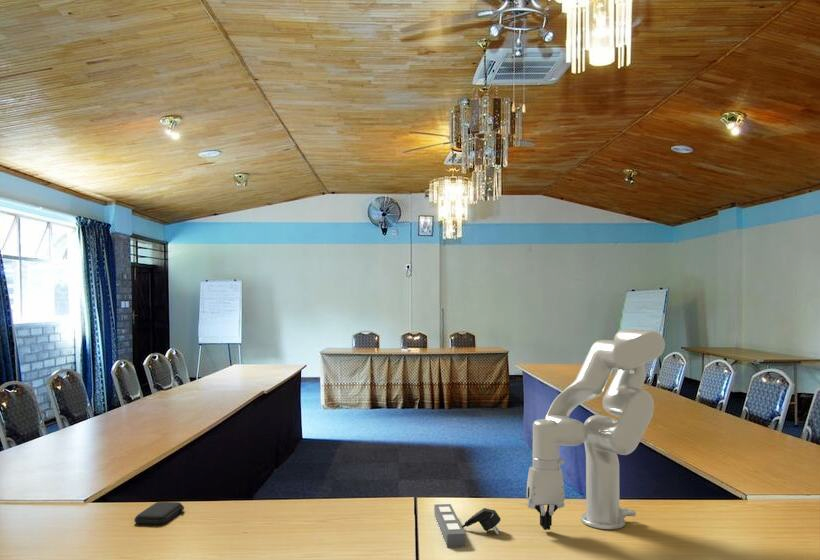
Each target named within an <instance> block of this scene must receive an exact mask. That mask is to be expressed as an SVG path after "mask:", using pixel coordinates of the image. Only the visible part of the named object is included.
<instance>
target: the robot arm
mask: <svg viewBox="0 0 820 560" xmlns="http://www.w3.org/2000/svg"><path fill="white" fill-rule="evenodd" d="M665 348H666V342H665V339H664V337H663V336H662V334H661V333H659V332H658V331H655V330H648V329H636V328H625V329H620V330H619V331H617V332H616V333H615V335H614V337H613V340H611V339H600V340H597V341H594V343H593V344H592V345H591V347H590V349H588V353H587V354H586V357H585V359H584V361H583V363H582V365H581V367H580V369H579V371H578V373H577V375H576V377H575V379H574V380H573V382H572V383H571V384H569V385H568V386H567V387H566V388H564V389H563V391H561V392H560V393H559V394H558V395H557V396H556V397H555V399H553V402H552V403H551V404H550V407H549V409H548V411H547V413H546V415H545V416H544V419H543V418H541V419H536V420H534V421H533V423H532V466H529V468H528V473H527V474H528V475H527V479H526V480H527V482H526V499H527V503H526V506H527V508H528V509H532V510H536V511H537V512H538V513H539V525H540V526H541V528H542V529H543V530H544V531H549V530H551V526H552V525H553V524H552V523H553V522H552V520H553V519H552V516H554V513H555V512H556V511H557V509H562V508H565V498H566V497H565V495H566V494H565V483H564V482H565V481H564V476H563V472H562V471H563V470H562V467H561V465H564V464H565V460H564V458H560V446H569V447H570V446H571V447H577V446H580V445H582V444H584V450H585V490H586V492H585V493H586V494H585V499H586V500H585V501H586V502H585V505H586V507H585V509H586V512H583V513H582V514H581V515H580V521H581V522H582V523H583V524H585V525H586V526H588V527H592V528H595V529H600V530H618V529H622V528H623V527H625V526H626V520H625V518H626V517H629V518H630V517H636V513H637V512H636V510H635V509H628V508H627V507H621V506H620V462H619V457H618V455H622V456H628V455H630V454H632V453H633V452H634V451H636V449H637V447H638V445H639V444H640V441H641V440H642V438H643V436H644V434H645V433H646V430H647V429H648V426H649V424H650V422H651V420H652V418H653V416H654V411H655V402H654V397H653V396H652V395H651V394H650V393H649V392H648V391H647V390H644V389H642V387H643V385H644V383H645V381H646V377H647V375H646V374H647V373H646V372H647V371H646V367H645V364H648V363H649V362H652V361H654V360H656V359H658V358H659V357H660V356H661V355H663V353H664V351H665ZM613 370H616V372H615V374H614V377H612V380H611V382H610V384H609V386H608V387H607V389H606V391H605V393H604V396H603V398H602V401H601V402H602V408H603V410H604V411H605V412H606V413H608V414H609V415H612V416H614V417H617V418H618V419H616V418H614V417H611V416H606V415H603V414H595V415H591V416H589V417H588V418H586V420H585V421H584V423H583V422H581V421H580V420H578V419H575V418H570V415H571V413H572V412H573V411H574V410H575V408H577V407H578V406H580V405H581V404H583V403H584V402H588V401H591V400H593V399H595V398H598V397H601V395H602V394H603V392H604V390H605V387H606V386H607V383H608V382H609V379H610V377H611V375H612V373H613ZM545 506H546V508H545Z"/></svg>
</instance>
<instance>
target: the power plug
mask: <svg viewBox="0 0 820 560" xmlns="http://www.w3.org/2000/svg"><path fill="white" fill-rule="evenodd" d="M501 520H502V519H501V517H500V515H499V514H498V513H497V511H496V510H495V509H492V508H491V509H489V508H487V507H484V508H482V509H481V510H479V511H478V512H475V514H473V515H472V516H471V517H470V518H468V519H467V520H466V521H465V522H464V524H461V526H462V528H463V529H464V528H465V527H466V528H467V527H469V526H472V525H474V524H477V523H479V524H480V525H481V527H482V528H483V530H484V531H485V532H488V531H489V530H491V529H492V530H493V532H494V533H495V535H498V536H499V535H500V533H499V532H500V528H499V527H498V526H497V525H498V524H500V522H501Z"/></svg>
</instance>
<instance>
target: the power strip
mask: <svg viewBox="0 0 820 560" xmlns="http://www.w3.org/2000/svg"><path fill="white" fill-rule="evenodd" d="M433 505H434V506H433V508H434V509H433V510H434V515H435V516H434V518H435V517H436V519H435V521H436V520H437V521H436V523H437V522H438V524H437V526H438V525H439V526H438V528H439V527H440V529H439V531H440V530H441V531H440V533H441V532H442V533H441V536H442V535H443V536H442V539H443V541H444V540H445V541H444V543H445V542H446V543H445V545H447V546H446V548H463V547H464V548H465V547H466V541H467V540H466V532H465V530H464V528H462V524H461V522H460V520H459V518H458V515H457V514H456V512H455V509H454V508H453V506H452V505H451V503H443V504H442V503H441V504H439V503H438V504H433Z"/></svg>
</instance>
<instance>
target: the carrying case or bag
mask: <svg viewBox="0 0 820 560" xmlns="http://www.w3.org/2000/svg"><path fill="white" fill-rule="evenodd" d="M184 509H185V506H184V505H183V504H182V503H181V502H177V501H176V502H174V501H158V502H155V503H153V504H151V505H150V506H148V507H147V508H146V509H144V510H142V511H141V512H140V513H138V514H137V515H136V516H135V518H134V520H133V521H134V523H135V524H136V525H141V526H163V525H164V524H166V523H167V522H168V521H170V520H171V519H172V518H174V517H175V516H177V515H178V514H179V513H183V512H184Z"/></svg>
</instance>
